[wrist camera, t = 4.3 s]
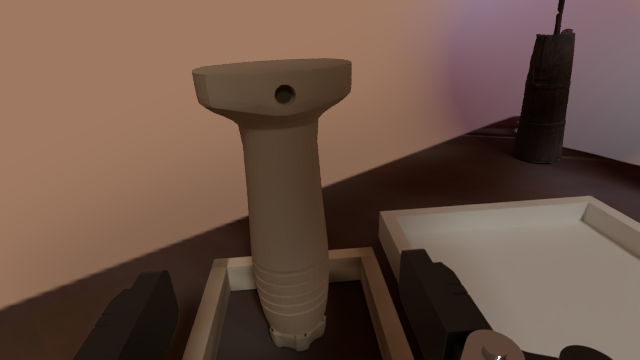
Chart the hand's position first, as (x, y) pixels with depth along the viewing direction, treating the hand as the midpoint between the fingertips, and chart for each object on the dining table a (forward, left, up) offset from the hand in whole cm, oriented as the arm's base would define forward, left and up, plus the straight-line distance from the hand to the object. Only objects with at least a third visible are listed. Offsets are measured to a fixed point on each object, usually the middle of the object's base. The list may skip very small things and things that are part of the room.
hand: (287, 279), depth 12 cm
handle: (0, -5, -9) cm, 10 cm away
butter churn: (-32, -30, -9) cm, 45 cm away
